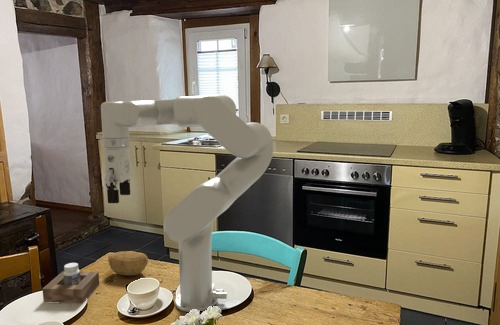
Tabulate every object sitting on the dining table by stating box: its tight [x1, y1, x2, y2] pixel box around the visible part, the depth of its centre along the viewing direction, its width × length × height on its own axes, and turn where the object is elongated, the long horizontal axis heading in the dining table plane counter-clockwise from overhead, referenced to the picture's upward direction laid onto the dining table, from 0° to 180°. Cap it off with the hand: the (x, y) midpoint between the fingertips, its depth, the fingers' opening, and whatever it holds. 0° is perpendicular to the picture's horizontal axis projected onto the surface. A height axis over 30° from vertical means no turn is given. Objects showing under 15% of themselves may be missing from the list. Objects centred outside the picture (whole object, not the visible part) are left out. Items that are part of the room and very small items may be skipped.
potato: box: [107, 250, 149, 277], centre depth 138 cm, size 10×14×8 cm
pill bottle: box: [63, 262, 81, 285], centre depth 124 cm, size 5×5×8 cm
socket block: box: [42, 270, 100, 304], centre depth 125 cm, size 12×12×4 cm
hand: (119, 198), depth 122 cm, fingers open, 9 cm apart
